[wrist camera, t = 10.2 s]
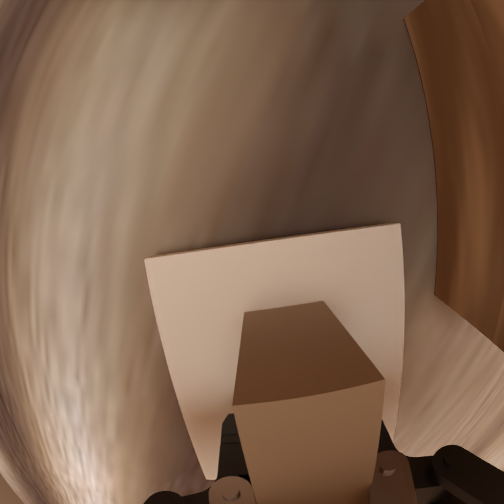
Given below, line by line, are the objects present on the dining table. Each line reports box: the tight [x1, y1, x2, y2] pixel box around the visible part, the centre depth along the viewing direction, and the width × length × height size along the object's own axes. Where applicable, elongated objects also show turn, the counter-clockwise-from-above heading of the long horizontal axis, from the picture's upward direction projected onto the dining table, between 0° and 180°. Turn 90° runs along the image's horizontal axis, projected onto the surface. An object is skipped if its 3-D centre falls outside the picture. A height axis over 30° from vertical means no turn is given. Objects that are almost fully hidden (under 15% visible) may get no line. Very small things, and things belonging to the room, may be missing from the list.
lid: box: [144, 223, 405, 504], centre depth 9 cm, size 10×12×7 cm
